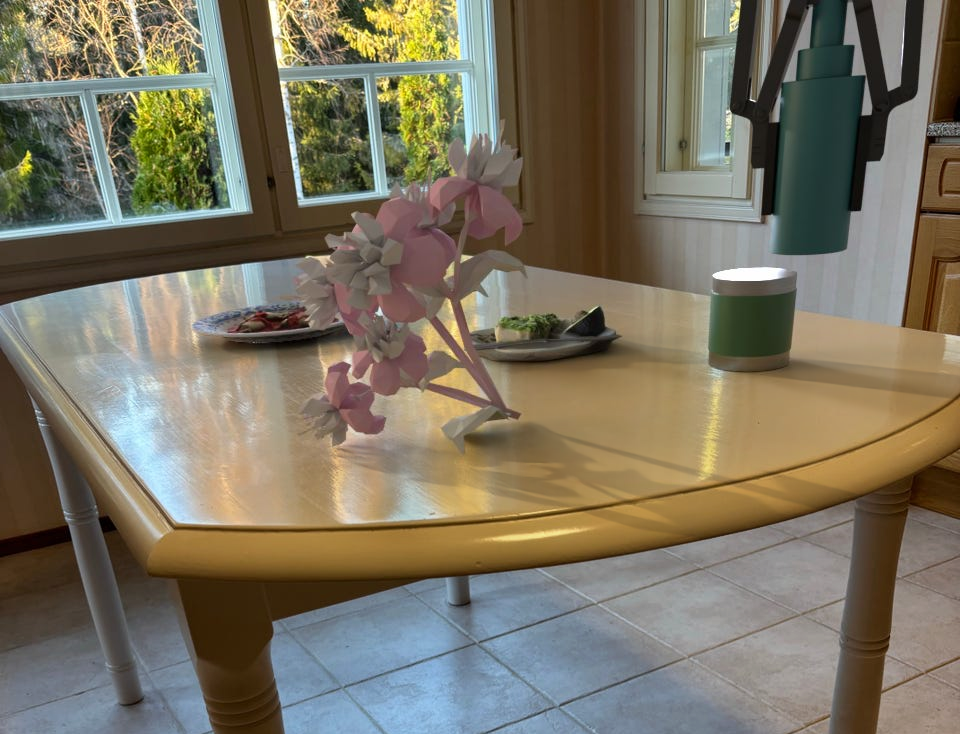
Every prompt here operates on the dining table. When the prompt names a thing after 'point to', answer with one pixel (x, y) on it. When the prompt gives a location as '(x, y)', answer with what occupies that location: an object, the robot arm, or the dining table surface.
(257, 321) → the ceramic plate
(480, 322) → the dining table surface
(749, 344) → the tin
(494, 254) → the flower
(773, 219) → the bottle
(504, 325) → the salad plate
